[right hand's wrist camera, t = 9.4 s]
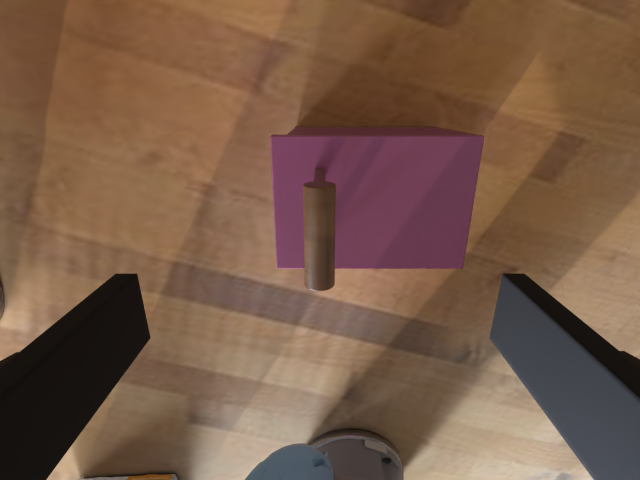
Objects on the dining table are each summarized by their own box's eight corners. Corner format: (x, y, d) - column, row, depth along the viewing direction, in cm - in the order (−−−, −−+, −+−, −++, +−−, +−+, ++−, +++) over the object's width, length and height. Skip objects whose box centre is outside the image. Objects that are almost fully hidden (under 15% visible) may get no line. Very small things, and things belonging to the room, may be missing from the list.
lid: (278, 263, 28) (262, 321, 21) (272, 134, 25) (250, 147, 17) (458, 263, 28) (509, 321, 21) (477, 134, 25) (548, 147, 17)
